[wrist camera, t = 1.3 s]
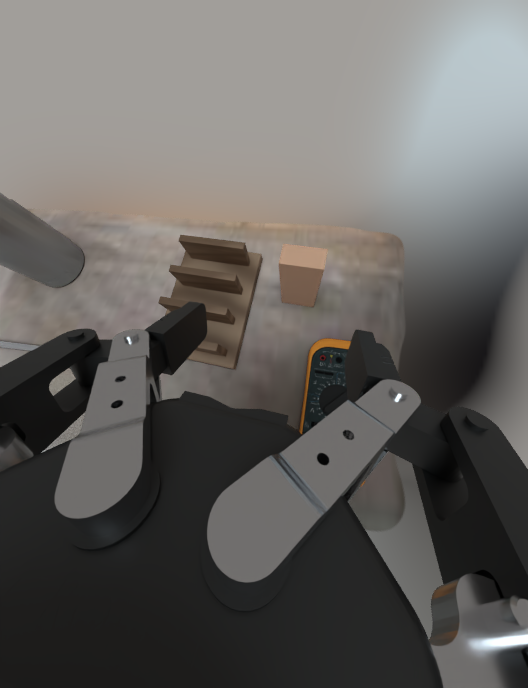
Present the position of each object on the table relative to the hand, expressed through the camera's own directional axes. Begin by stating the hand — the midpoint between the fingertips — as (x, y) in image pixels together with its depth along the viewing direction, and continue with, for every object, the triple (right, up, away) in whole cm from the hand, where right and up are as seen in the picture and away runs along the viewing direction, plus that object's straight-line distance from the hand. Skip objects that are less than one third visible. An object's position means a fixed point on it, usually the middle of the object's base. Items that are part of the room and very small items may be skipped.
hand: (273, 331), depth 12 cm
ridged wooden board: (-9, +6, +25) cm, 27 cm away
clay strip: (+5, +7, +23) cm, 25 cm away
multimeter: (+9, -9, +20) cm, 24 cm away
